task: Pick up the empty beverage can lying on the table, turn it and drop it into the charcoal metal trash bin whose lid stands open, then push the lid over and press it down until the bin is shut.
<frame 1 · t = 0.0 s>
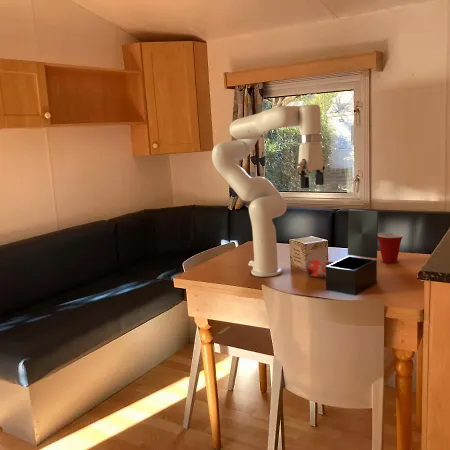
hand: (312, 186, 184), 37 cm above the table, tool pointing down, fingers open, 9 cm apart
trash bin: (351, 286, 182), on the table
beverage can: (324, 278, 195), on the table
bin lid: (362, 233, 186), point 18 cm above the table, hinge at 95.0°
plastic cup: (390, 261, 210), on the table
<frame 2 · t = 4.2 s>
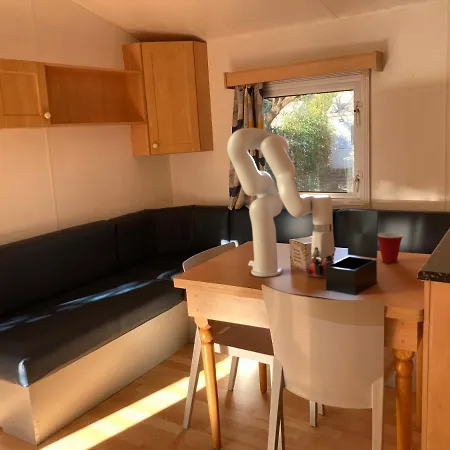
hand: (324, 272, 194), 2 cm above the table, tool pointing down, fingers closed on beverage can, 7 cm apart
beverage can: (324, 278, 195), on the table, touching gripper
everything else where it was.
when the fingers open (9 cm above the table, at t = 12.6 s): beverage can drops 6 cm, resting on trash bin.
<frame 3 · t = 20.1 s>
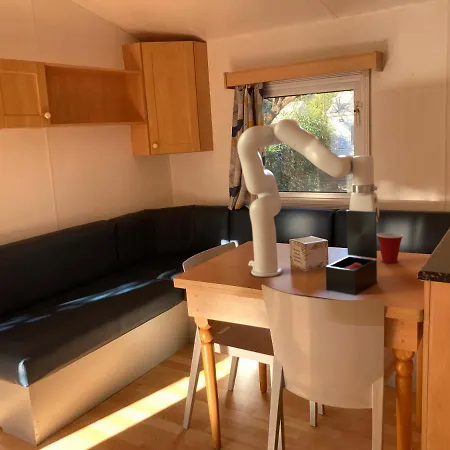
hand: (364, 237, 187), 16 cm above the table, tool pointing down, fingers closed
beverage can: (350, 284, 182), point 1 cm above the table, touching trash bin
bin lid: (361, 234, 185), point 18 cm above the table, hinge at 88.7°, touching gripper
everything else where it was.
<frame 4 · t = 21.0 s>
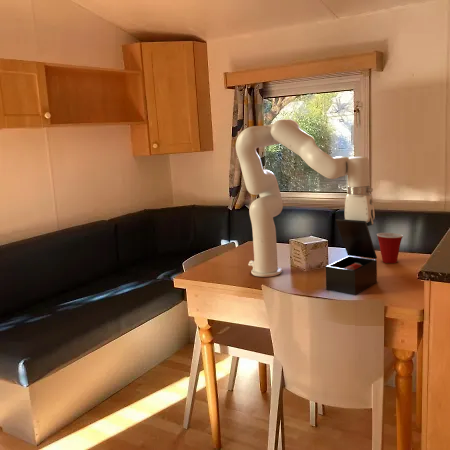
hand: (359, 239, 184), 16 cm above the table, tool pointing down, fingers closed
bin lid: (356, 238, 182), point 17 cm above the table, hinge at 61.4°, touching gripper
everything else where it was.
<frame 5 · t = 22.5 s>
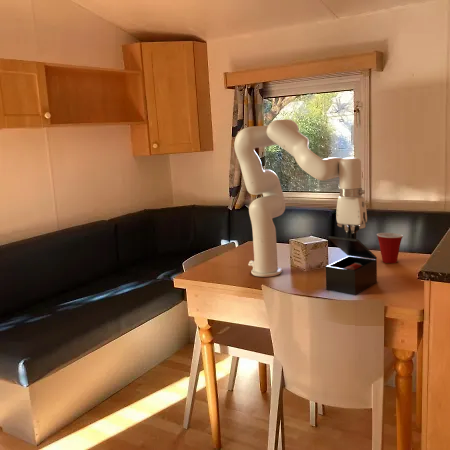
hand: (351, 243, 180), 16 cm above the table, tool pointing down, fingers closed
bin lid: (352, 247, 181), point 14 cm above the table, hinge at 34.7°
everything else where it was.
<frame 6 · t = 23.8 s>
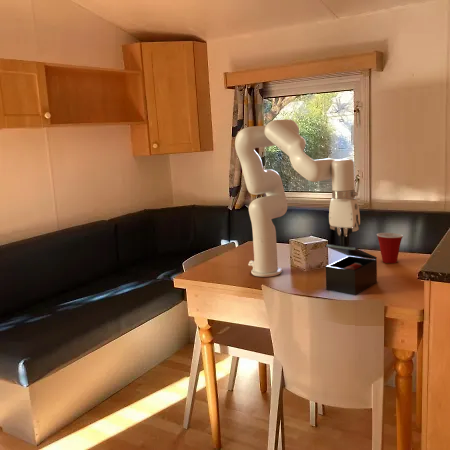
hand: (344, 246, 176), 16 cm above the table, tool pointing down, fingers closed
bin lid: (351, 252, 180), point 13 cm above the table, hinge at 24.1°
everything else where it was.
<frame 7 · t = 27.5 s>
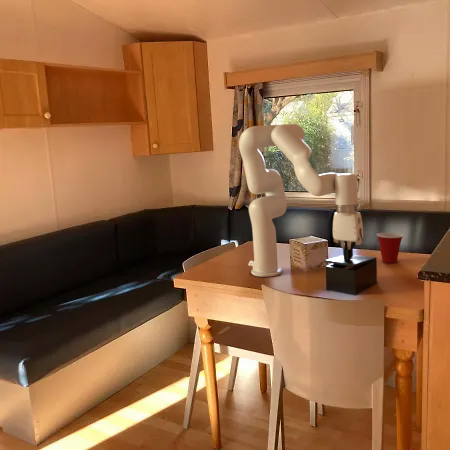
hand: (348, 259, 178), 11 cm above the table, tool pointing down, fingers closed
bin lid: (350, 259, 180), point 10 cm above the table, hinge at 5.4°, touching gripper
everything else where it was.
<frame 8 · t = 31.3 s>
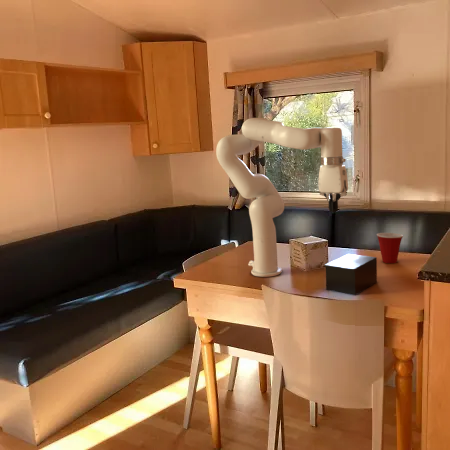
hand: (333, 211, 184), 27 cm above the table, tool pointing down, fingers closed
bin lid: (350, 262, 180), point 9 cm above the table, hinge at -0.1°
everything else where it was.
at the end: beverage can inside the target area in the trash bin (0.7 cm from its centre), point 0.6 cm above the trash bin's base; bin lid at +0° (first picture: +95°) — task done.
